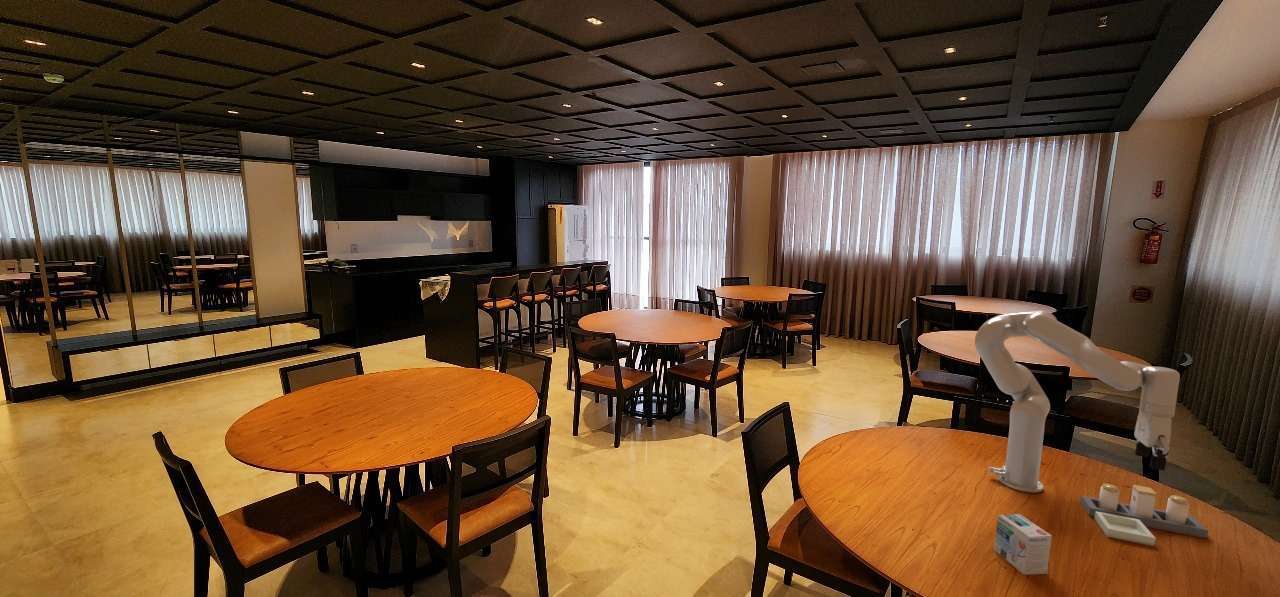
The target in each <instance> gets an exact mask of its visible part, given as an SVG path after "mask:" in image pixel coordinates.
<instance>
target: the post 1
mask: <svg viewBox="0 0 1280 597" xmlns="http://www.w3.org/2000/svg"><path fill="white" fill-rule="evenodd" d="M1119 497H1120V490H1119V487H1118V486H1116V485H1114V484H1110V483H1103V484H1102V485H1101V486H1100V489H1099V497H1098V499H1099V503H1098V508H1101V509H1106V510H1112V511H1117V506H1118V502H1119V499H1120V498H1119ZM1117 512H1118V511H1117Z"/></svg>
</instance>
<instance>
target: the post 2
mask: <svg viewBox="0 0 1280 597" xmlns="http://www.w3.org/2000/svg"><path fill="white" fill-rule="evenodd" d="M1166 503H1167V504H1166V510H1165V511H1166V515H1165V521H1170V522H1175V523H1181V524H1186V520H1187V515H1189V514H1188V513H1189V508H1190V503H1189V502H1188V499H1187V498H1185V497H1183V496H1180V495H1175V494H1174V495H1170V496H1169V497H1168V499H1167V502H1166Z"/></svg>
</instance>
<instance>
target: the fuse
mask: <svg viewBox="0 0 1280 597" xmlns="http://www.w3.org/2000/svg"><path fill="white" fill-rule="evenodd" d="M1131 488H1132V489H1131V490H1132V491H1131V498H1130V509H1129V511H1130V512H1131V513H1132V514H1133V515H1138V516H1144V517H1149V518H1152V517H1153V511H1154V509H1155V504H1156V499H1157V492H1156V491H1154V489H1152V487H1147V486H1142V485H1137V484H1132V487H1131Z"/></svg>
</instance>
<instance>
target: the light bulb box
mask: <svg viewBox="0 0 1280 597" xmlns="http://www.w3.org/2000/svg"><path fill="white" fill-rule="evenodd" d="M995 531H996V533H995V539H994V548H993V550H994V552H996V553H997V554H998V555H999V556H1001V557H1002V558H1003V559H1005V561H1006V562H1008V563H1009V564H1010V565H1012V567H1014V568H1015V569H1016V570H1017V571H1018V572H1020V573H1021V574H1022V575H1024V576H1025V575H1044V574H1045V575H1046V574H1048V567H1049V566H1048V565H1049V560H1050V553H1051V552H1050V551H1051V546H1052V545H1051V544H1052V540H1053V539H1052V538H1053V536H1052V534H1050V533H1048V532H1047V531H1045V530H1044V529H1043V528H1041V527H1039V526H1038V525H1037V524H1035V523H1033V522H1032V521H1030V520H1029V519H1028V518H1026V517H1025V516H1023V515H1022V514H1021V513H1017V514H1016V513H1015V514H1013V513H1012V514H999V515H998V516H997V524H996V530H995Z"/></svg>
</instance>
